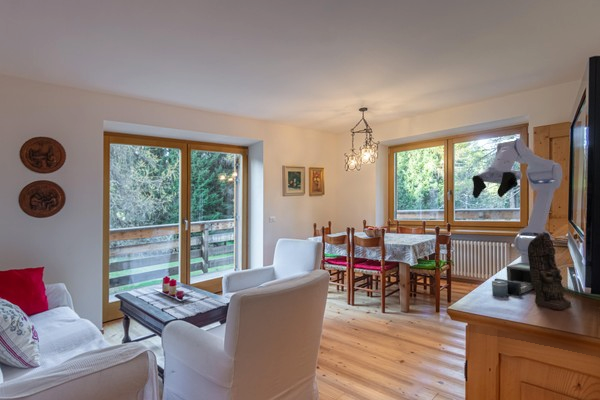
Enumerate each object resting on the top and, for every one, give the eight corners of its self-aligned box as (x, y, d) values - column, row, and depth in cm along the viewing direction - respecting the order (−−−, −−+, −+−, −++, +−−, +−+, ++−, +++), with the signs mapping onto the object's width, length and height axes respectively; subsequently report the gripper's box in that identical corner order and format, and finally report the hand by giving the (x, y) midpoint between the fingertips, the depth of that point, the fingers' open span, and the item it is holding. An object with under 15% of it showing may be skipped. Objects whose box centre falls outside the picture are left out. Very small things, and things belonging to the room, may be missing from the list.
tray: (512, 284, 107) (511, 273, 107) (536, 288, 101) (535, 277, 101) (495, 289, 101) (494, 278, 101) (519, 294, 95) (518, 283, 95)
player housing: (520, 280, 112) (519, 262, 112) (551, 285, 104) (550, 266, 104) (507, 285, 107) (506, 265, 107) (538, 290, 99) (537, 270, 99)
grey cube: (496, 292, 99) (496, 279, 99) (510, 295, 96) (510, 282, 96) (489, 294, 97) (489, 281, 97) (503, 297, 94) (503, 284, 94)
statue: (559, 311, 81) (555, 233, 82) (529, 304, 88) (525, 232, 88) (572, 306, 84) (568, 231, 85) (542, 299, 91) (538, 230, 91)
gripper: (474, 160, 109) (459, 188, 104) (521, 153, 96) (506, 184, 91) (483, 175, 111) (468, 202, 106) (530, 170, 99) (515, 201, 94)
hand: (486, 195), depth 99 cm, fingers open, 7 cm apart
